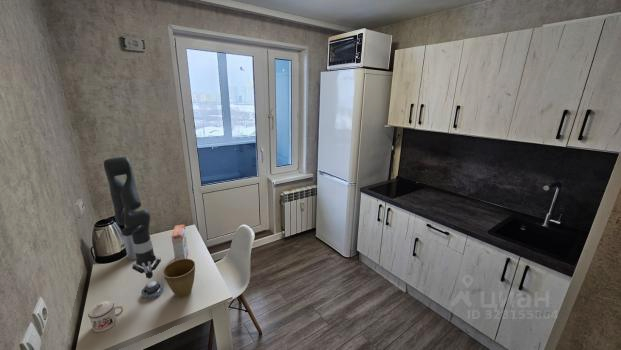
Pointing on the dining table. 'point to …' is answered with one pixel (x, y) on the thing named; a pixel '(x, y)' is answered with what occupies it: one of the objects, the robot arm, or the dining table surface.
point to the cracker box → (180, 242)
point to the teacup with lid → (103, 316)
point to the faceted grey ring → (152, 295)
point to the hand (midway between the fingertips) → (149, 277)
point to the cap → (152, 287)
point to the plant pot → (180, 276)
